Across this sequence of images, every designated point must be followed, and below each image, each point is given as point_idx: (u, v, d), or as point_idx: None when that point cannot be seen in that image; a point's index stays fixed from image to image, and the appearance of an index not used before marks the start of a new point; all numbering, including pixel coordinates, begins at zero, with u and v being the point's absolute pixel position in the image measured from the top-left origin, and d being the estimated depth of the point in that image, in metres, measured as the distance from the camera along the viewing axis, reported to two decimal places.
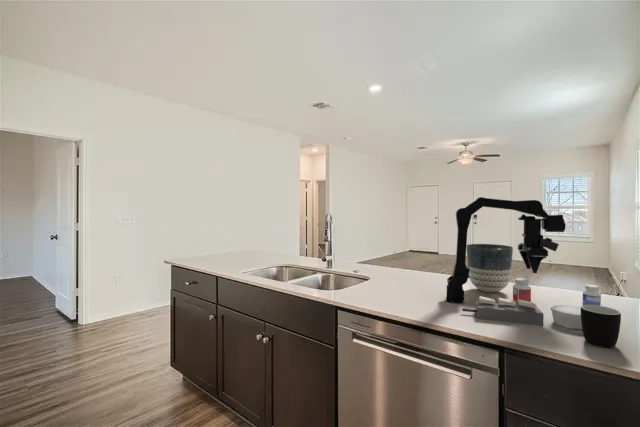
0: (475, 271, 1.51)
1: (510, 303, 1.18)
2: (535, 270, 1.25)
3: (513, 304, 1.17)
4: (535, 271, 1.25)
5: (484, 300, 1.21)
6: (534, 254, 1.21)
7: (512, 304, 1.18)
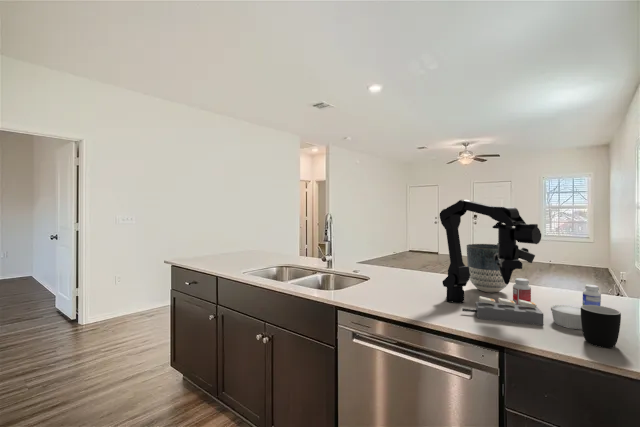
0: (475, 271, 1.51)
1: (510, 303, 1.18)
2: (507, 281, 1.19)
3: (513, 304, 1.17)
4: (507, 282, 1.19)
5: (484, 300, 1.21)
6: (507, 266, 1.11)
7: (512, 304, 1.18)
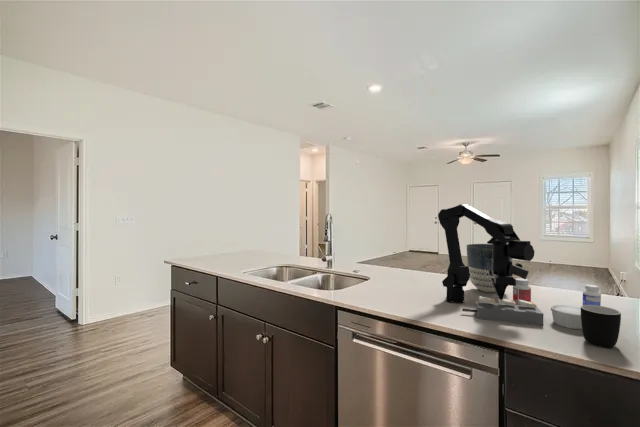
0: (475, 271, 1.51)
1: (510, 303, 1.18)
2: (501, 296, 1.19)
3: (513, 304, 1.17)
4: (501, 297, 1.20)
5: (484, 300, 1.21)
6: (501, 283, 1.12)
7: (512, 304, 1.18)
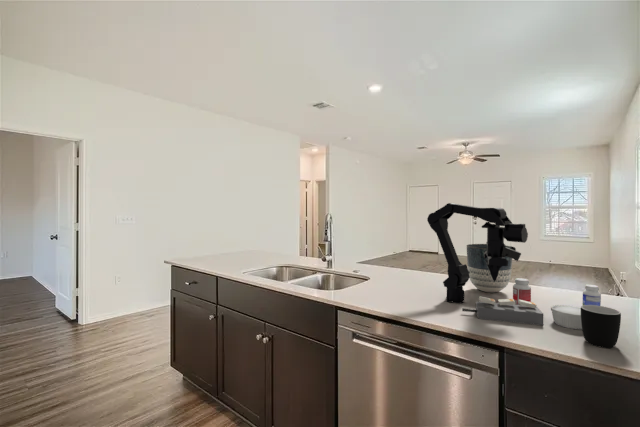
0: (475, 271, 1.51)
1: (510, 302, 1.18)
2: (494, 277, 1.26)
3: (513, 302, 1.18)
4: (494, 278, 1.26)
5: (484, 300, 1.21)
6: (494, 264, 1.18)
7: (512, 303, 1.18)
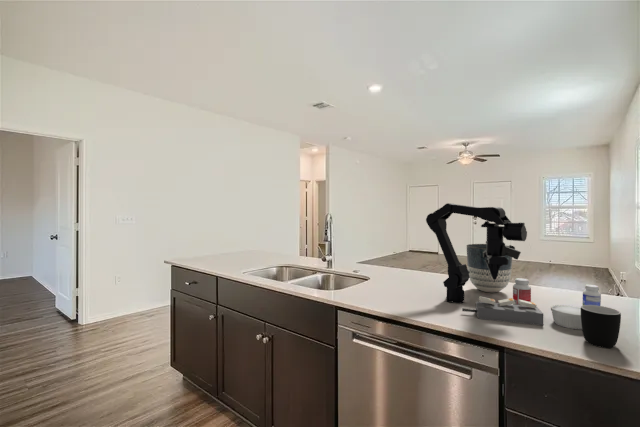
0: (475, 271, 1.51)
1: (510, 301, 1.18)
2: (494, 276, 1.26)
3: (513, 302, 1.18)
4: (494, 277, 1.26)
5: (484, 300, 1.21)
6: (494, 263, 1.18)
7: (512, 302, 1.18)
